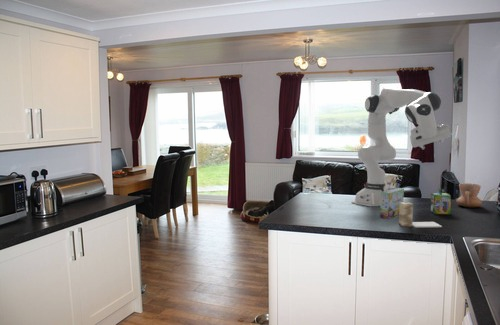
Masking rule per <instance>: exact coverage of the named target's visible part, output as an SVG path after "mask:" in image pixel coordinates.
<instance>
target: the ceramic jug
mask: <svg viewBox="0 0 500 325" xmlns="http://www.w3.org/2000/svg"><path fill="white" fill-rule="evenodd" d="M458 187H459V192H460V194H461V196H459V197H458V198H456V203H457V204H458V205H459V206H461V207H463V208H469V209H470V208H474V209H475V208H478V207H481V206H482V205H483V201H482V199H481V198H480V197H478V195H479V193H480V191H481V188H482V186H481V185H480V184H477V183H476V184H475V183H465V182H464V183H459V184H458Z"/></svg>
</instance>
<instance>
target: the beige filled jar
mask: <svg viewBox="0 0 500 325" xmlns="http://www.w3.org/2000/svg"><path fill="white" fill-rule="evenodd" d="M413 206H414V203H411V202H409V201H408V202H407V201H406V202H404V201H403V202H400V209H399V214H398V225H399V224H400V225H399V226H400V227H403V228H405V227H406V228H407V227H408V228H410V227H413V226H412V222H413V211H414V210H413V208H414V207H413Z"/></svg>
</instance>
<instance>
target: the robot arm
mask: <svg viewBox="0 0 500 325" xmlns="http://www.w3.org/2000/svg"><path fill="white" fill-rule="evenodd" d="M441 105H442V99H441V97H440V96H439V95H438V94H436V93H435V92H431V91H428V92H426V91H423V90H419V89H413V88H410V89H409V88H408V89H401V88H398V86H397V87H396V86H394V85H386V86H384V87H383V88H382V89H381V90H380V94H373V95H370V96H368V97H367V98H366V99H365V102H364V108H365V110H366V112H368V120H367V135H368V138H370V139H371V140H372V141H374V143H375V145H365V146H361V147H360V148H359V150H358V152H357V157H358V160H360V162H361V163H363V164H364V166H365V169H366V172H367V175H366V176H367V182H365V183H364V184H363V186H364V188H362V189H361V190H359V191H358V192H357V193H356V194H355V197H354V198H355V199H353V200H351V203H352V204H355V205H361V206H366V207H380V205H381V192H383V191H386V188H387V187H386V186H387V185H386V172H385V169H383V168H382V167H380V165H379V163H387V162H390V161H394V160H395V159H396V156H397V152H396V149H395V147H394V146H393V145H392V144H390V142H389V140H388V137H387V128H386V127H387V122H386V121H387V120H386V119H387V118H386V117H387V114H389V115H392V114H393V113H396V112H398V111H399V110H400V108H403V107H405V110H404V114H405V116H406V119H407V120H408V121H409V122H410V123H412V124H415V125H418V126H416V127H414V128H412V129H411V130H410V137H409V138H410V144H411V146H412V148H417V147H419V148H421V150H422V151H423V150H425V149H426V147H425V145H428V144H431V143H436V142H437V141H438V142H439V145H443V144H444V141H445V139H446V140H447V139H449V138H451V136H452V133H451V131H450V130H451V126H450V124H446V123H445V124H441V125H438V124H437V121H436V116H435V111H438V110H439V109H440V107H441Z"/></svg>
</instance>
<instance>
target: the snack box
mask: <svg viewBox="0 0 500 325" xmlns="http://www.w3.org/2000/svg"><path fill="white" fill-rule="evenodd" d="M404 193H405V188H403V187H394V188H391V189H387V190H385V191H383V192H381V205H380V206H379V209H380V210H379V218H383V219H387V220H388V219H391V218H393V217H395V216H399V209H400V202H404V197H405V194H404Z"/></svg>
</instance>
